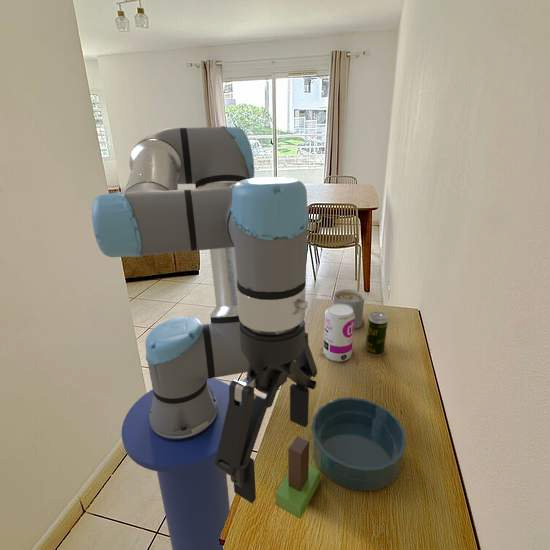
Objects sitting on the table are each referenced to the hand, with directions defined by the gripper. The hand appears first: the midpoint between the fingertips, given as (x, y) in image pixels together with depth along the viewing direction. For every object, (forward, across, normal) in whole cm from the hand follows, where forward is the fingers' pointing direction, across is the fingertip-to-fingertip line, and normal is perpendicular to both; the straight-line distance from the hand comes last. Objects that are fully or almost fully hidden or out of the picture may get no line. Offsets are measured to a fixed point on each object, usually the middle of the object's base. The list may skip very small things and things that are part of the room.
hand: (274, 455), depth 49 cm
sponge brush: (+20, +10, +2) cm, 23 cm away
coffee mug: (+21, +72, +17) cm, 76 cm away
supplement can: (+21, +54, +13) cm, 59 cm away
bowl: (+20, +24, -4) cm, 32 cm away
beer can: (+21, +61, +4) cm, 64 cm away
